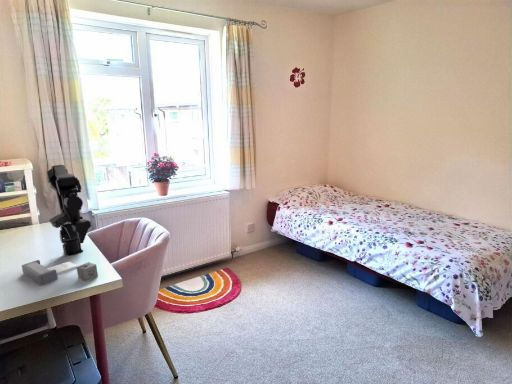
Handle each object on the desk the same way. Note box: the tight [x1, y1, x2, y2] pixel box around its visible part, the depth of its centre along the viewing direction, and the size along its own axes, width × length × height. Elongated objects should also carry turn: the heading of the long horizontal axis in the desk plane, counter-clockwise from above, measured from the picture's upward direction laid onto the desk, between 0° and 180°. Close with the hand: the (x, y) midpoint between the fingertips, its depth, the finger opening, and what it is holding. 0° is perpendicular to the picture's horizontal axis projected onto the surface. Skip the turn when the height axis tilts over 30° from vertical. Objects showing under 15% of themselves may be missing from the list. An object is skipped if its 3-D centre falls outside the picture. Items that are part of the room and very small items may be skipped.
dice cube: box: [76, 261, 99, 283], centre depth 134 cm, size 5×5×5 cm
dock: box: [21, 259, 58, 287], centre depth 136 cm, size 6×17×4 cm, turn 52°
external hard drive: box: [46, 261, 78, 276], centre depth 141 cm, size 2×8×12 cm
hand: (76, 241), depth 146 cm, fingers open, 9 cm apart
